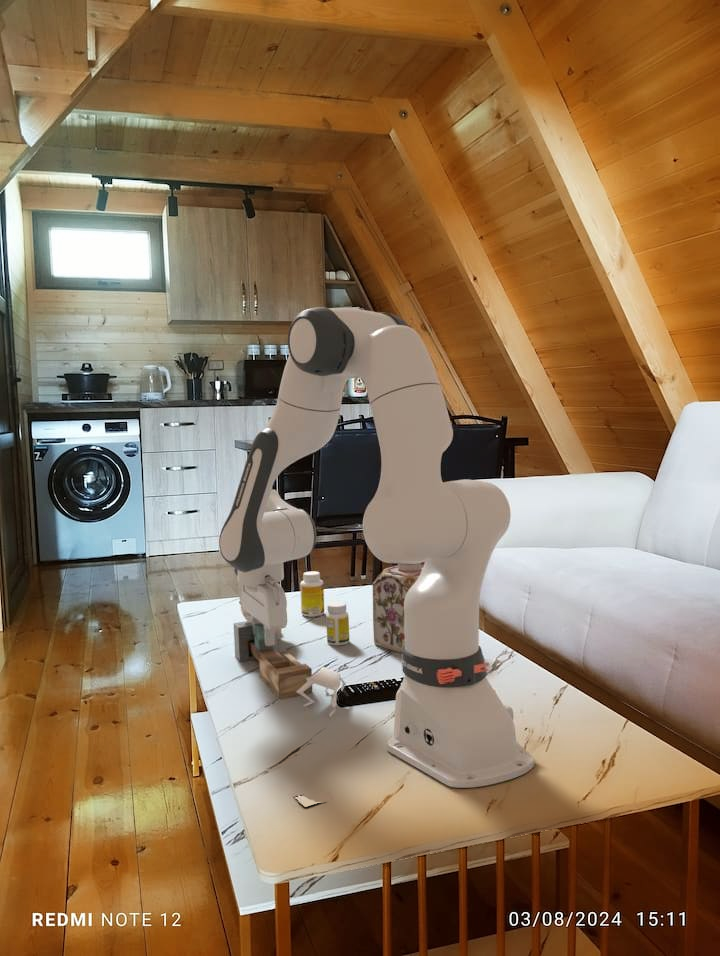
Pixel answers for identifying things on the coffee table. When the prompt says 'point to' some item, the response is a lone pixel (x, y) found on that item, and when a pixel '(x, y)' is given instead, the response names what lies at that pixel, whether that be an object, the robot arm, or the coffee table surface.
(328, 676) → the origami figure
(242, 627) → the socket block
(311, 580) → the supplement bottle
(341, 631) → the supplement bottle
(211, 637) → the coffee table surface
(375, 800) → the coffee table surface
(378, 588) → the decorative jar
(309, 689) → the guide channel
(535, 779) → the coffee table surface
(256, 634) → the slide bar
